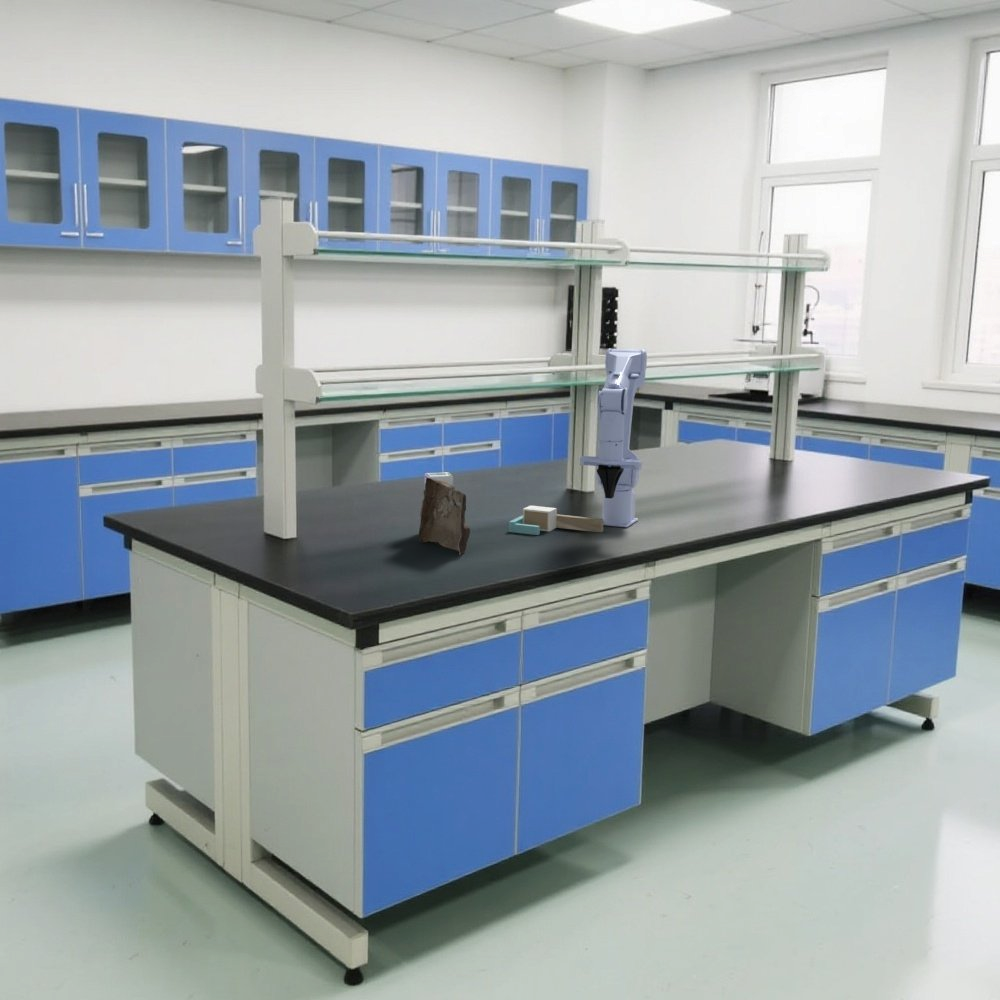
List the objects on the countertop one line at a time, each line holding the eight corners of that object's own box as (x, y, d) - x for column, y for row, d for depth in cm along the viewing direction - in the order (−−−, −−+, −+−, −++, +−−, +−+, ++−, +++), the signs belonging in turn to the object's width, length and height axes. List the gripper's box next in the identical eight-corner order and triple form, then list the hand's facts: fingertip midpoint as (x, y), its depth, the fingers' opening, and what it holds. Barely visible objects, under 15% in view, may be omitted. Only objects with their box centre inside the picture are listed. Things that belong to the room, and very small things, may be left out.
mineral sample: (418, 542, 254) (418, 477, 251) (432, 540, 257) (433, 475, 254) (459, 557, 241) (460, 489, 238) (474, 555, 243) (475, 487, 240)
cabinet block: (530, 525, 273) (530, 505, 272) (556, 528, 270) (556, 508, 269) (522, 529, 269) (522, 508, 268) (548, 532, 266) (549, 511, 265)
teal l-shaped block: (524, 524, 274) (524, 514, 273) (552, 527, 271) (553, 517, 270) (508, 531, 265) (508, 521, 265) (537, 535, 262) (537, 524, 262)
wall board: (527, 522, 275) (527, 511, 274) (603, 531, 267) (603, 519, 266) (524, 524, 274) (524, 512, 273) (601, 532, 265) (601, 520, 265)
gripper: (575, 440, 256) (574, 497, 259) (635, 444, 250) (633, 503, 253) (586, 436, 262) (585, 492, 265) (645, 440, 256) (643, 498, 259)
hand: (609, 497), depth 259 cm, fingers closed
